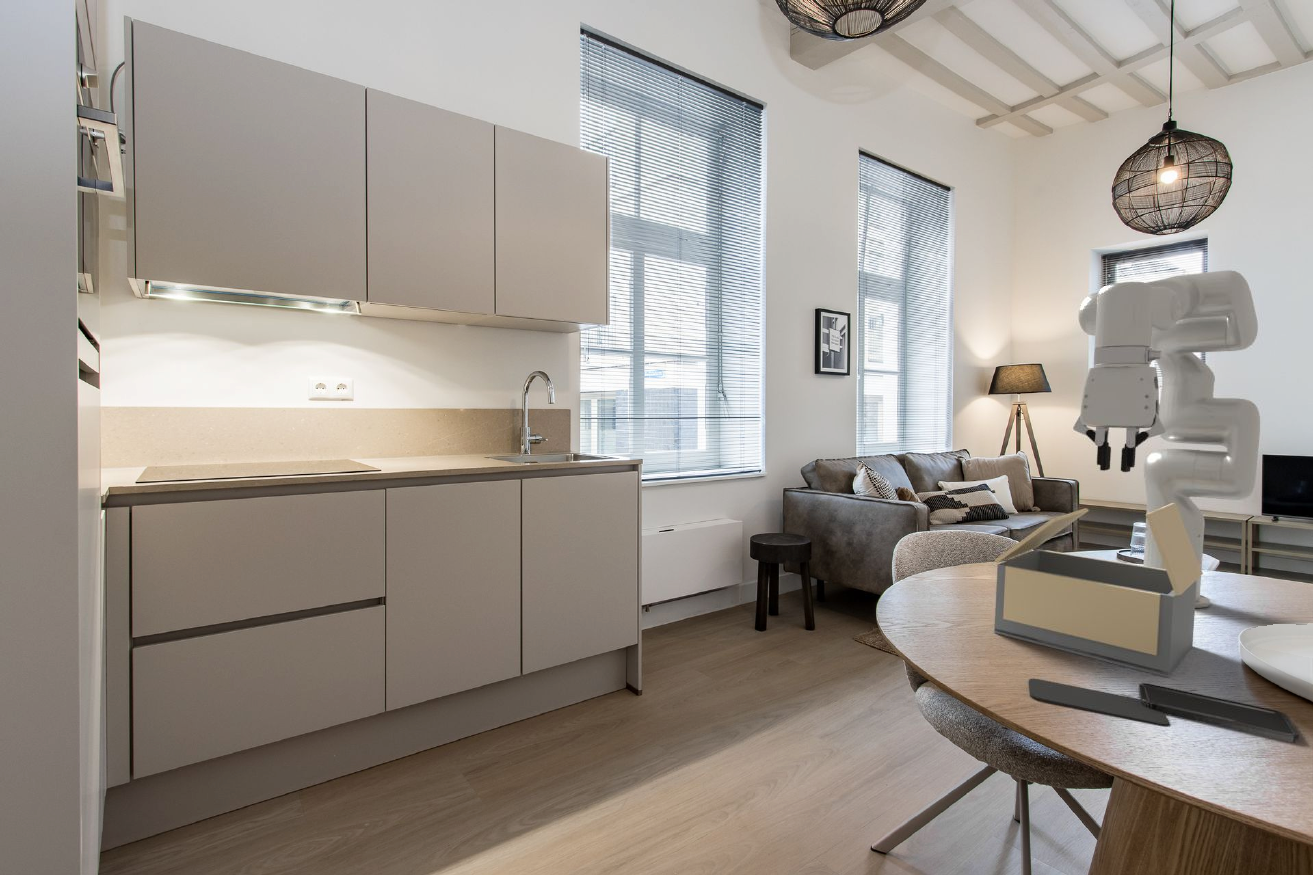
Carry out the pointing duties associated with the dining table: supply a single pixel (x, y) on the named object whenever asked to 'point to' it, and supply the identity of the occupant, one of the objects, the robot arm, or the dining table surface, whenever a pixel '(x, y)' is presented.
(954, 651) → the dining table surface
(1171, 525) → the carton flap
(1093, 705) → the phone
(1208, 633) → the dining table surface
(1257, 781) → the dining table surface
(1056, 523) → the carton flap
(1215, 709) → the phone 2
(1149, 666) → the carton
